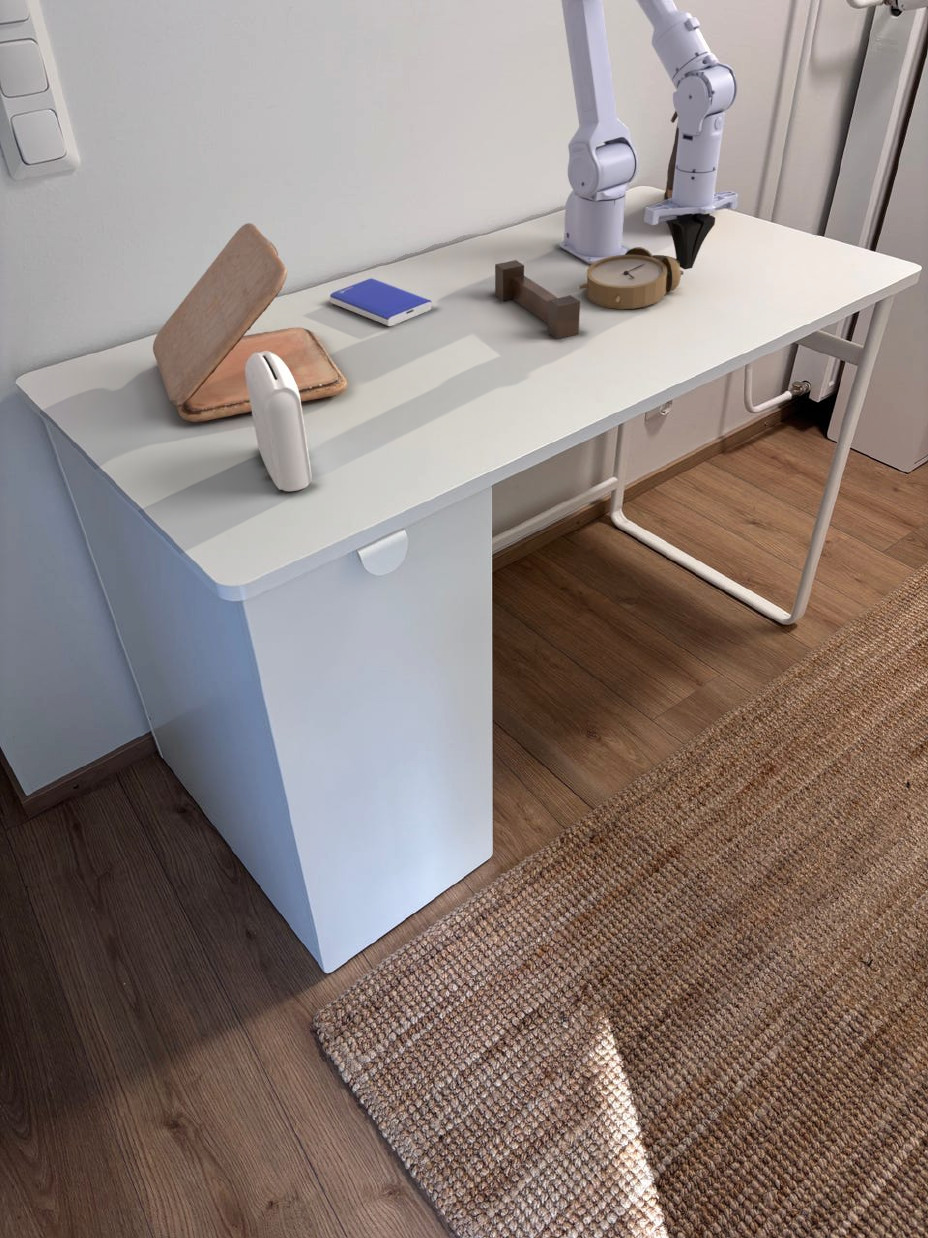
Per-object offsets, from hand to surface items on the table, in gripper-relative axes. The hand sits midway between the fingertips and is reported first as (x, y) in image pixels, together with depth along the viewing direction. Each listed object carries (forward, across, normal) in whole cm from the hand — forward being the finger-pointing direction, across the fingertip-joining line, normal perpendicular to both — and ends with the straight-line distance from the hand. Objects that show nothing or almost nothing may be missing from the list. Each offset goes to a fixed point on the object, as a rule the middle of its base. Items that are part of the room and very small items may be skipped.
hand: (684, 266), depth 142 cm
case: (+2, -66, 0) cm, 66 cm away
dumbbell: (+2, -24, 0) cm, 24 cm away
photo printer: (+2, -69, -23) cm, 72 cm away
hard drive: (+2, -42, +13) cm, 45 cm away
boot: (+2, +18, +24) cm, 30 cm away
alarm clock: (+2, -8, 0) cm, 9 cm away
